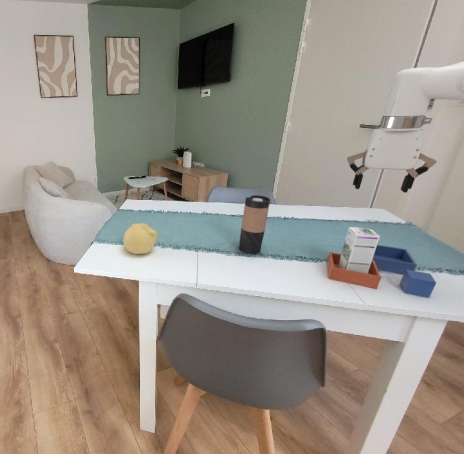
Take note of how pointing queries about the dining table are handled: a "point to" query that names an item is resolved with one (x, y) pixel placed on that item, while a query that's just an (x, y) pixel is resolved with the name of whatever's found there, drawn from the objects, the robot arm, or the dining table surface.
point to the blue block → (417, 283)
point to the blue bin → (393, 259)
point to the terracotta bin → (352, 273)
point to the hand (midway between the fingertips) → (379, 189)
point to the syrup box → (358, 249)
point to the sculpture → (140, 238)
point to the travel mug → (253, 224)
